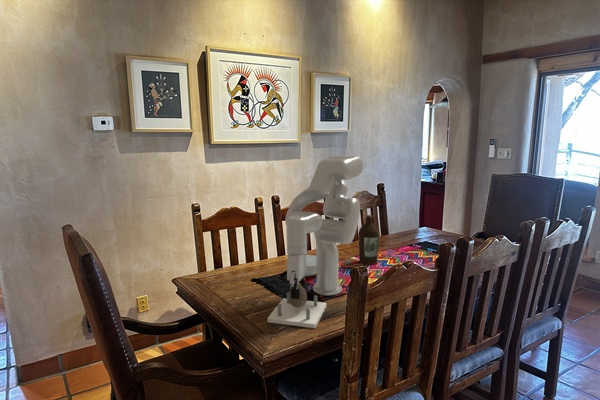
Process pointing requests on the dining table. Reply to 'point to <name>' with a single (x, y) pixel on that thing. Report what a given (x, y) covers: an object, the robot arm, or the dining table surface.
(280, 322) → the stand
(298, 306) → the vase
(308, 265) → the cereal bowl
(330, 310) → the dining table surface
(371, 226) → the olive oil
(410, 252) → the dining table surface
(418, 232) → the dining table surface
